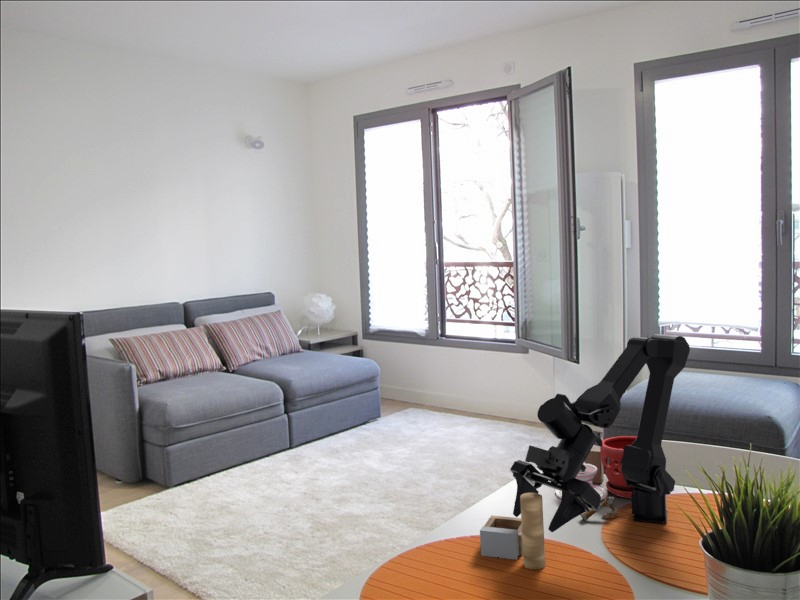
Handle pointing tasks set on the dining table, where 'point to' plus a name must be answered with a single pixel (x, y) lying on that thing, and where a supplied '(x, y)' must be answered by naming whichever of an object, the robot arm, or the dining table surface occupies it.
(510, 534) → the wall
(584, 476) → the teacup
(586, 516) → the brown and silver rod
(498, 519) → the socket block
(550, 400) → the robot arm
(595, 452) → the wooden block
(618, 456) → the plant pot
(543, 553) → the dowel
